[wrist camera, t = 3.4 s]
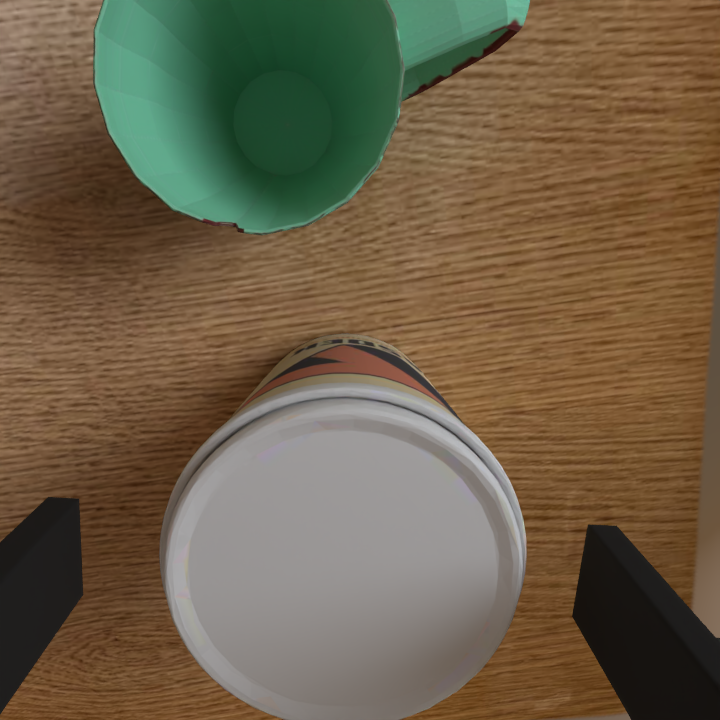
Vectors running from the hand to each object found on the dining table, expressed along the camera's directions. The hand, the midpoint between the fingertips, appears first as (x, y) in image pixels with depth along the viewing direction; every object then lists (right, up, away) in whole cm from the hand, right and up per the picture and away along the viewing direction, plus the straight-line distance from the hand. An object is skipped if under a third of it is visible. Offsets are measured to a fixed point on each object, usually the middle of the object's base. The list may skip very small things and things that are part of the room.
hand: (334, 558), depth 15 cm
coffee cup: (0, +3, +11) cm, 11 cm away
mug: (-1, +15, +8) cm, 17 cm away
